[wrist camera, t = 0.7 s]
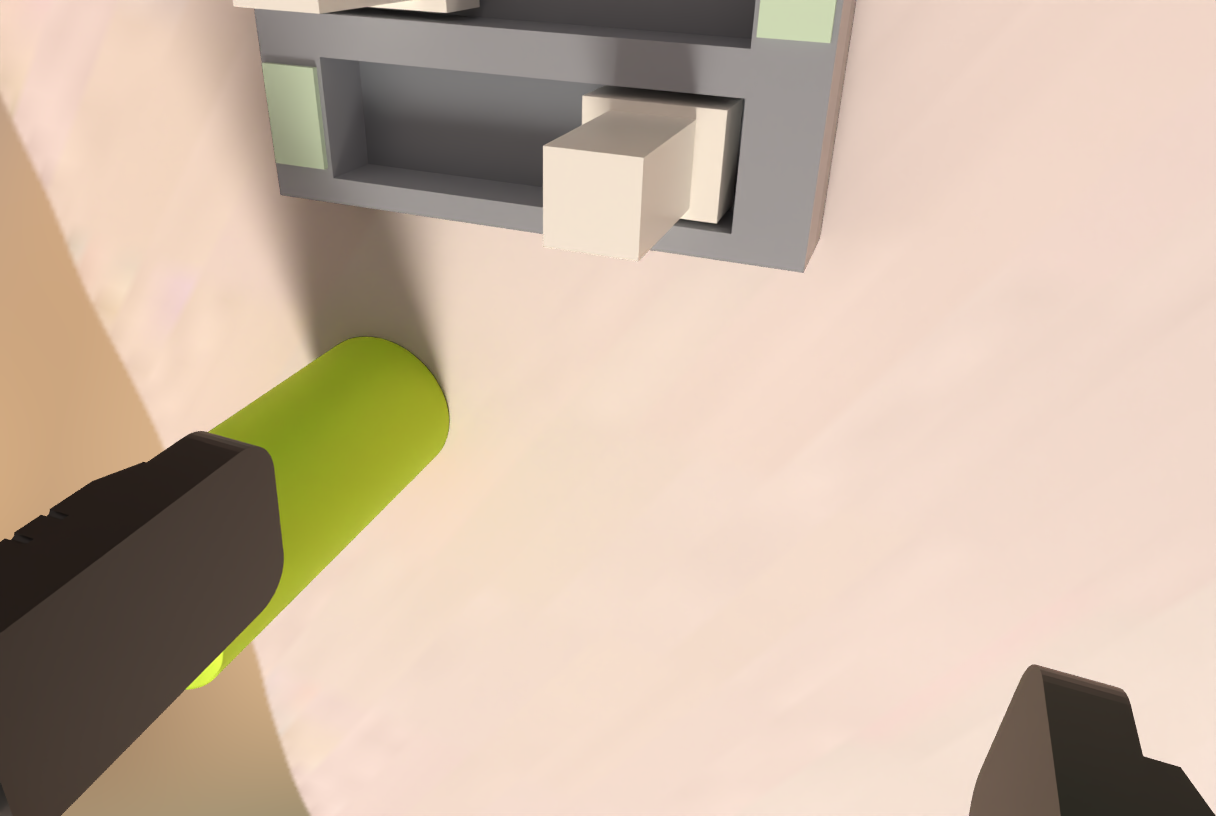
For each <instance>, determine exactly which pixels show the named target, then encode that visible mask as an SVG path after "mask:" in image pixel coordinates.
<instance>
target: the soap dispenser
mask: <svg viewBox="0 0 1216 816" xmlns="http://www.w3.org/2000/svg"><path fill="white" fill-rule="evenodd" d="M448 430H449V413H448V408H447V404H446V400H445V397H444V395H443V392H442V390H441V388H440V386H439V384H438V383H437V381H436V379H435V378H434V376H433V375H432V374H431V372H430V371H429V370H428V369H427V367H426V366H425V365H424V364H423V363H422V362H421V361H420V360H419V359H418V358H416V357H415V356H414V355H413V354H411V353H410V352H409V351H407V350H406V349H404V348H402V347H401V346H399V345H397V344H395V343H393V342H390V341H387V340H384V339H381V338H376V337H356V338H351V339H348V340H345V341H343V342H341V343H340V344H338V345H337V346H335V347H334V348H332V349H331V350H329V351H328V352H326V353H325V354H323V355H322V356H320V357H319V358H317V359H316V360H314V361H313V362H311V363H310V364H308V365H307V366H305V367H304V368H302V369H301V370H299V371H298V372H297V373H295V374H294V375H292V376H291V377H289V378H288V379H286V380H285V381H283V382H282V383H280V384H279V385H277V386H276V387H274V388H273V389H271V390H270V391H268V392H267V393H265V394H264V395H262V396H261V397H259V398H258V399H256V400H255V401H253V402H252V403H250V404H249V405H247V406H246V407H244V408H243V409H242V410H240V411H239V412H237V413H236V414H234V415H233V416H231V417H230V418H228V419H227V420H225V421H224V422H222V423H221V424H219V425H218V426H216V427H215V428H213V429H212V430H210V431H209V433H212V434H216V435H220V436H223V437H227V438H230V439H234V440H238V441H241V442H245V443H248V444H252V445H256V446H259V447H262V448H264V449H265V450H267V451H268V452H269V454H270V456H271V458H272V460H273V464H274V470H275V479H276V488H277V497H278V506H279V516H280V525H281V534H282V543H283V552H284V565H283V571H282V575H281V579H280V582H279V585H278V587H277V589H276V592H275V594H274V596H273V597H272V599H271V601H270V602H269V604H268V605H267V606H266V608H265V609H264V610H263V611H262V612H261V613H260V614H259V615H258V616H257V617H256V618H255V619H254V620H253V621H252V622H251V623H250V624H249V625H248V626H247V628H246V629H245V630H244V631H243V632H242V633H241V634H240V635H239V636H238V637H237V638H236V639H235V640H234V641H233V642H232V643H231V644H230V645H229V646H228V647H227V648H226V649H225V650H224V651H223V652H222V653H221V654H220V655H219V656H218V657H217V658H216V659H215V660H214V661H213V662H212V663H211V664H210V665H209V666H208V667H207V668H206V669H205V670H204V671H203V672H202V673H201V674H200V675H199V676H198V677H197V678H196V679H195V680H194V681H193V682H192V683H191V684H190V685H189V686H188V687H187V688H186V689H185V690H188V689H195V688H199V687H202V686H204V685H206V684H208V683H210V682H211V681H212V680H213V679H214V678H215V677H216V676H217V675H218V674H219V673H220V672H221V671H222V670H223V669H224V668H225V667H226V666H227V665H228V664H229V663H230V662H231V661H232V660H233V659H234V658H235V657H236V656H237V655H238V654H239V653H240V652H241V651H242V650H243V649H244V648H245V647H246V646H247V645H248V644H249V643H250V642H251V641H252V640H253V639H254V638H255V637H256V636H257V635H258V634H259V633H260V632H261V631H262V630H263V629H264V628H265V627H266V626H267V625H268V624H269V623H270V622H271V621H272V620H273V619H274V618H275V617H276V616H277V615H278V614H279V613H280V612H281V611H282V610H283V609H284V608H285V607H286V606H287V605H288V604H289V603H290V602H291V601H292V600H293V599H294V598H295V597H296V596H297V595H298V594H299V593H300V592H301V591H302V590H303V589H304V588H305V587H306V586H307V585H308V584H309V583H310V582H311V581H312V580H313V579H314V578H315V577H316V576H317V575H318V574H319V573H320V572H321V571H322V570H323V569H324V568H325V567H326V566H327V565H328V564H329V563H330V562H331V561H332V560H333V559H334V558H335V557H336V556H337V555H338V554H339V553H340V552H341V551H342V550H343V549H344V548H345V547H346V546H347V545H348V544H349V543H350V542H351V541H352V540H353V539H354V538H355V537H356V536H357V535H358V534H359V533H360V532H361V531H362V530H363V529H364V528H365V527H366V526H367V525H368V524H369V523H370V522H371V521H372V520H373V519H374V518H375V517H376V516H377V515H378V514H379V513H380V512H381V511H382V510H383V509H384V508H385V507H386V506H387V505H388V504H389V503H390V502H391V501H392V500H393V499H394V498H395V497H396V496H397V495H398V494H399V493H400V492H401V491H402V490H403V489H404V488H405V487H406V486H407V485H408V484H409V483H410V482H411V481H412V480H413V479H414V478H415V477H416V476H417V475H418V474H419V473H420V472H421V471H422V470H423V469H424V468H425V467H426V466H427V465H428V464H429V463H430V462H431V461H432V460H433V459H434V458H435V457H436V456H437V454H438V453H439V452H440V451H441V449H442V448H443V446H444V444H445V441H446V439H447V435H448Z"/></svg>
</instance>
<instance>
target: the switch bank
mask: <svg viewBox="0 0 1216 816" xmlns="http://www.w3.org/2000/svg"><path fill="white" fill-rule="evenodd" d="M479 2H480V7H477V8H472V9H466V10H461V11H455V12H450V13H440V12H427V11H415V10H402V9H389V8H376V7H362V8H356V9H349V10H342V11H335V12H328V13H322V14H316V13H304V12H292V11H280V10H268V9H255V8H254V11H255V18H256V25H257V32H258V39H259V46H260V53H261V60H262V70H263V77H264V84H265V91H266V98H267V105H268V112H269V119H270V126H271V133H272V140H273V147H274V154H275V161H276V166H277V173H278V180H279V187H280V194H281V195H284V196H291V197H298V198H304V199H311V200H318V201H324V202H331V203H338V204H345V205H351V206H358V207H365V208H371V209H378V210H385V211H392V212H398V213H405V214H412V215H419V216H425V217H432V218H439V219H445V220H452V221H459V222H466V223H472V224H479V225H486V226H492V227H499V228H506V229H513V230H519V231H526V232H533V233H539V234H543V145H545V144H547V143H549V142H551V141H553V140H555V139H557V138H558V137H560V136H562V135H564V134H566V133H568V132H570V131H572V130H574V129H575V128H577V127H579V126H581V125H582V96H583V95H585V94H587V93H590V92H592V91H594V90H596V89H598V88H600V87H603V86H605V85H611V86H621V87H632V88H642V89H652V90H662V91H672V92H683V93H693V94H703V95H713V96H724V97H734V98H743V108H742V118H741V127H740V137H739V147H738V156H737V166H736V176H735V186H734V195H733V205H732V206H731V207H730V208H729V209H728V211H727V212H726V213H725V214H724V215H723V217H722V218H721V219H720V220H719V221H718V222H717V224H716V223H709V222H701V221H694V220H687V219H679V220H678V221H677V222H676V223H675V224H674V225H673V226H672V227H671V228H670V229H669V230H668V231H667V232H666V233H665V235H664V236H663V237H662V238H661V239H660V240H659V241H658V242H657V243H656V244H655V245H654V246H653V247H652V248H651V249H650V250H654V251H660V252H667V253H674V254H681V255H687V256H694V257H701V258H708V259H714V260H721V261H728V262H734V263H741V264H748V265H755V266H761V267H768V268H775V269H781V270H788V271H795V272H802V273H804V271H805V269H806V267H807V264H808V262H809V260H810V258H811V256H812V254H813V252H814V250H815V248H816V245H817V243H818V241H819V239H820V234H821V227H822V221H823V214H824V208H825V201H826V195H827V188H828V181H829V175H830V168H831V162H832V155H833V149H834V142H835V136H836V129H837V123H838V116H839V110H840V103H841V97H842V90H843V84H844V77H845V70H846V64H847V57H848V51H849V44H850V38H851V31H852V25H853V18H854V12H855V5H856V0H479Z"/></svg>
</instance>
